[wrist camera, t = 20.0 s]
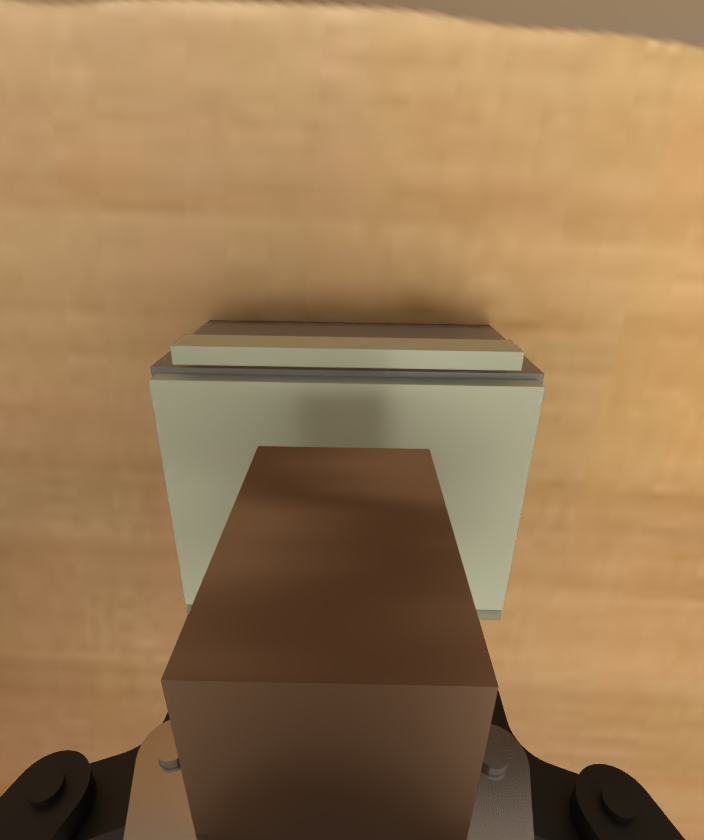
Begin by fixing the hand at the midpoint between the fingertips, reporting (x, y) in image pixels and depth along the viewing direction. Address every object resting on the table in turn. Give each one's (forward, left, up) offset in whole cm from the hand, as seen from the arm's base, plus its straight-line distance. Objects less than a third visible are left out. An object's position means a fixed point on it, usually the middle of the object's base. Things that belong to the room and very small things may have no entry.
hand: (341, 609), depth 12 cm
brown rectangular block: (0, 0, -1) cm, 1 cm away
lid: (0, -5, -5) cm, 7 cm away
